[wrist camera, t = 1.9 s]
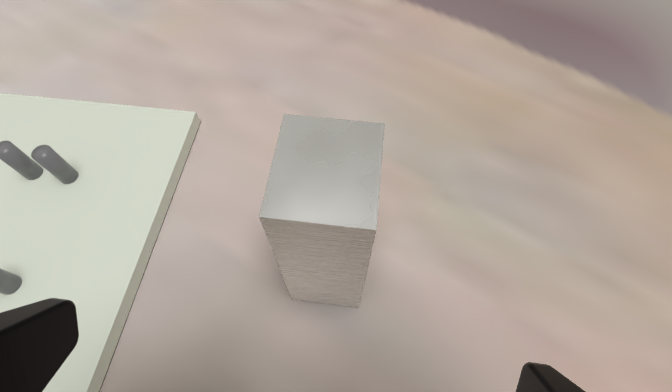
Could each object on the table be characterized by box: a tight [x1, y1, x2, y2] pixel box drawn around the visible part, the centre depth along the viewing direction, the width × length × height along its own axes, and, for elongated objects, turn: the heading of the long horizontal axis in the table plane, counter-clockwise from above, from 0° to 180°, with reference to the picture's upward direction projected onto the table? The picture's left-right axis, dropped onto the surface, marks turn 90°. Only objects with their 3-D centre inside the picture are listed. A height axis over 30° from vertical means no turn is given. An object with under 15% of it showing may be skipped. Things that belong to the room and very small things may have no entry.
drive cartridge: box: [259, 114, 385, 308], centre depth 17 cm, size 4×4×10 cm
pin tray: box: [0, 93, 200, 392], centre depth 20 cm, size 14×18×4 cm
